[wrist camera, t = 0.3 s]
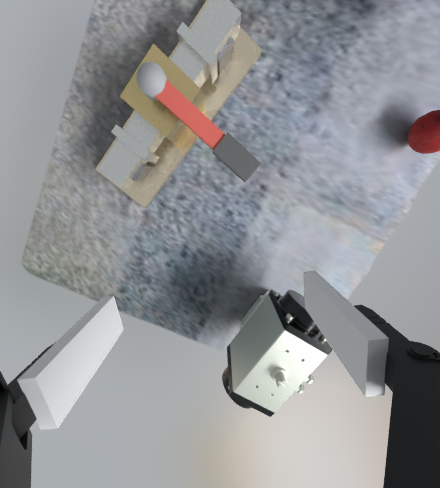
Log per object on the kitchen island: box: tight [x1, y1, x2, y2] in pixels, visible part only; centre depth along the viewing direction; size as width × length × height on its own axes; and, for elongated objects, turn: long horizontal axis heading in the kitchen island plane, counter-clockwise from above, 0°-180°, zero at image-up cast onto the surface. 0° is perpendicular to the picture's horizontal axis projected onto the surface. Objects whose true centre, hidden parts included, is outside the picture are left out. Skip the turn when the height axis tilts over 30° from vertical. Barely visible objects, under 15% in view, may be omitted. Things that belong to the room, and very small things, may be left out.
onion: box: [408, 110, 440, 154], centre depth 32 cm, size 6×6×8 cm
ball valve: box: [222, 290, 332, 417], centre depth 36 cm, size 18×8×18 cm, turn 147°
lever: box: [137, 62, 261, 182], centre depth 25 cm, size 16×3×2 cm, turn 50°
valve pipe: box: [95, 0, 263, 208], centre depth 30 cm, size 30×10×11 cm, turn 140°
